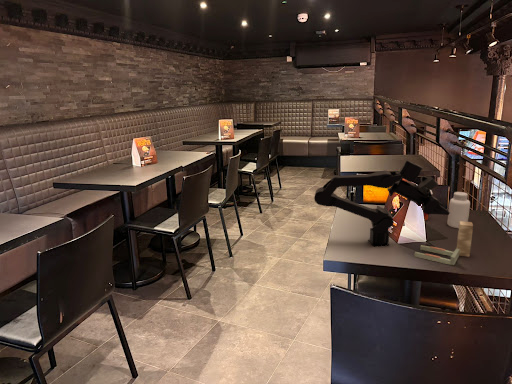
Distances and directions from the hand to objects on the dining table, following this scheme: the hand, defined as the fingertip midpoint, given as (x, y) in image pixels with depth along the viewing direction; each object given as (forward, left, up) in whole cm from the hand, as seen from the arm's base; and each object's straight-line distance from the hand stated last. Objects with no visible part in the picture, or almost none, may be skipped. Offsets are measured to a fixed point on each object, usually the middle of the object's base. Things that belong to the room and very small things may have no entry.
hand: (445, 209), depth 140 cm
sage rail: (-8, -7, -15) cm, 18 cm away
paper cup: (+9, +32, -15) cm, 36 cm away
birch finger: (+4, -7, -15) cm, 17 cm away
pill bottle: (+20, +20, -15) cm, 32 cm away
